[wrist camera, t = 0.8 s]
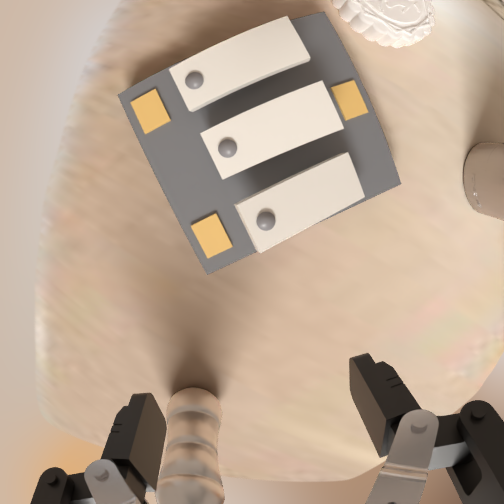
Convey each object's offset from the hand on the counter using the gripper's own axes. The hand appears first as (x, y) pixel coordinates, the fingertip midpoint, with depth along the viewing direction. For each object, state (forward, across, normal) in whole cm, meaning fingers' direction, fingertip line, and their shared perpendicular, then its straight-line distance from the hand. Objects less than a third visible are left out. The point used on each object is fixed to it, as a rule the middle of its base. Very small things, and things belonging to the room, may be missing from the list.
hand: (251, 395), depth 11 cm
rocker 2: (+15, -6, -5) cm, 16 cm away
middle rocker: (+15, -4, -10) cm, 19 cm away
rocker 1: (+15, -3, -16) cm, 22 cm away
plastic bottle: (+20, +9, +18) cm, 28 cm away
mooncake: (+21, -20, -25) cm, 38 cm away
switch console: (+20, -4, -10) cm, 23 cm away
